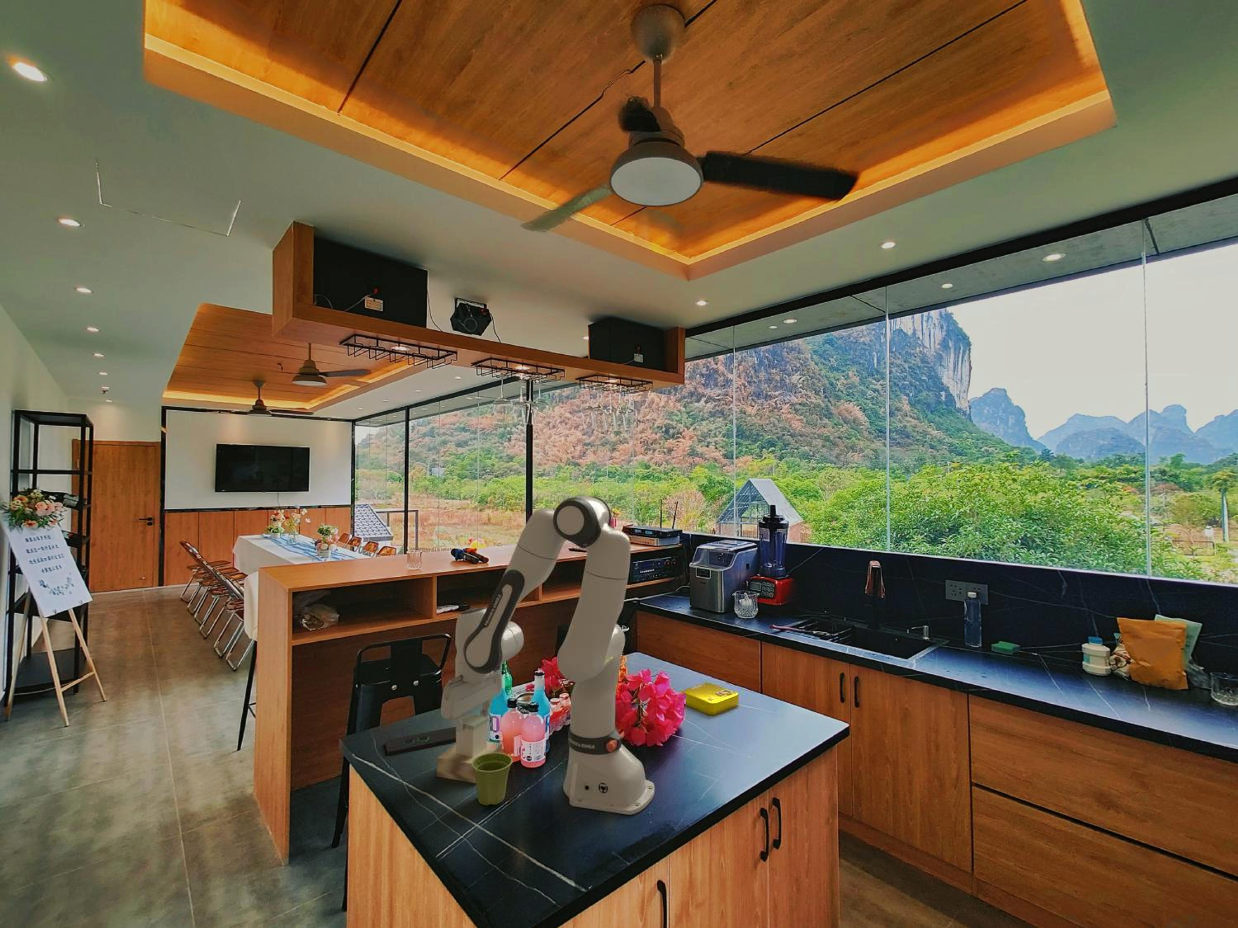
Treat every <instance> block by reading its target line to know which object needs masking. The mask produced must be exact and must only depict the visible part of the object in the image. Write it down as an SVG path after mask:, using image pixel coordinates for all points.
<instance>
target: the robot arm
mask: <svg viewBox="0 0 1238 928" xmlns="http://www.w3.org/2000/svg"><path fill="white" fill-rule="evenodd" d="M531 514H532V515H531V516H530V517H529V519H528V521H526V523H525V524H526V525H524V528H523V530H522V533H521V534H520V536H519V538H518V541H517V544H516V546H515V549H514V551H513V554H512V556H511V559H510V561H509V563H508V565H507V568H506V569H505V571H504V574H503V576H502V578H501V579H500V581H499V583H498V584H497V587H496V589H495V590H494V592H493V594H492V596H491V599H490V601H489V603H488V606H487V607H483V606H482V607H473V608H470V609H469V608H468V609H466V610H464V611H462V612H460V613H459V615H458V616H457V619H456V625H455V639H454V640H455V642H454V643H455V649H456V656H455V659H454V660H455V677H454V678H451V679H449V680H448V681H447V683H446V684H445V686H444V687H443V692H442V696H441V705H440V715H441V716H442V718H443V719H447V720H452V721H453V722H454V725H455V724H456V726H455V727H456V731H458V732H461V731H463V730H465V723H462V721H461V718H463V715H464V714H466V713H468V712H469V711H471V710H473V709H475V708H477V707H479V706H481V705H482V707H481V708H482V709H481V710H480V711H479V713H480V714H479V715H480V716H484V717H489V715H490V712H489V711H490V708H491V705H492V702H493V701H492V699H494V698H495V697H498V696H499V695H500V694H501V692H502V690H503V689H502V687H503V675H502V668H503V664H504V663H505V662H507V661H509V660H510V659H511V658H513V657H515V656H516V655H517V654H518V653H520V652H521V651H522V649H523V647H524V644H525V637H524V636H525V635H524V633H523V629H522V628H521V626H519V624H517V623H516V621H515V622H514V621H512V620H511V619H512V616H513V615H514V612H515V610H516V608H517V607H518V605H519V604H520V603H521V602H522V600H524V598H525V597H526V596H527V595H529V593H531V592H532V591H533V590H535V589H536V588H538V587H539V586H541V584H543V583H545V582H546V580H547V579H548V578H549V576H550V575H551V573H552V572H553V570H554V568H555V566H556V564H557V561H558V558H559V556H560V553H561V550H562V548H563V546H564V544H565V542H566V541H569V542H570V543H572V544H574V545H576V546H578V547H579V548H582V549H585V550H586V560H585V565H584V570H583V576H582V582H581V587H580V593H579V597H578V602H577V605H576V608H575V611H574V614H573V616H572V619H571V621H570V625H569V627H568V631H567V633H566V636H565V639H564V641H563V643H562V645H561V646H560V648H559V650H558V652H557V657H556V662H557V663H556V664H557V667H558V670H559V671H560V673H561V674H562V676H563V677H564V678H565V679H566V680H569V681H571V682H575V684H574V686H573V689H572V692H571V694H570V714H569V715H570V716H569V717H570V718H569V719H570V722H569V723H570V726H569V727H568V735H567V736H568V739H567V741H568V742H567V743H568V744H567V745H568V749H569V753H568V763H567V768H566V774H565V778H564V782H563V786H562V790H563V792H564V794H565V795H566V797H568V799H569V805H571V806H572V807H577V808H582V809H583V808H584V809H590V810H596V811H603V812H610V813H616V814H621V815H630V816H631V815H635V814H637V813H639V812H641V811H642V810H644V809H645V808H646V807H647V806H648V805H649V804H650V803H651V801H652V800H653V798H654V796H655V793H656V788H655V784H654V783H653V781H650V780H649V779H646V773H645V769H644V765H643V763H642V762H641V760H639V759H638V758H637V757H636V756H635V755H634V754H633V753H632V752H631V751H629V750H628V749H627V748H626V747H625V745H624V744H622V740H623V738H624V737H625V731H622V732H621V733H619V731H618V729H617V727H616V725H615V724H616V693H617V685H618V681H619V680H618V679H619V674H620V669H621V661H622V654H623V651H624V647H625V644H626V643H625V642H626V635H625V633H624V631H623V629H622V628H621V626H620V625H619V624H618V623H617V622H618V619H619V617H620V614H621V613H622V611H623V608H624V603H625V598H626V591H627V585H628V581H629V580H628V579H629V575H630V574H629V573H630V567H631V566H630V564H631V540H630V538H629V536H628V535H627V534H626V533H625V532H623V531H622V530H620V529H617V528H613V527H611V526H610V525H611V522H612V511H611V508H610V507H609V505H608V503H606V502H605V500H603V499H602V498H600V497H597V496H589V495H577V496H573V497H568V498H566V499H564V500H562V501H561V502H560V504H559V505H558V506H556V508H555V509H553V508H548V507H544V508H542V507H541V508H539V509H536V510H535V511H534V512H533V513H531Z"/></svg>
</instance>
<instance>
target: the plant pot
mask: <svg viewBox="0 0 1238 928" xmlns="http://www.w3.org/2000/svg"><path fill="white" fill-rule="evenodd" d="M512 764H513V758H512V757H511V756H510V755H509V754H507V753H503V752H502V753H487V754H483V755H480V756H478V757H476V758H475V759H474V760H473V761H472V768H473V769H474V773H475V777H476V783H475V784H476V793H477V800H478V802H479V803H480V804H481V805H482V806H489V805H494V806H495V805H498V804H501V802H503V801H504V799H505V797H506V789H507V782H508V778H509V777H508V776H509V771H510V769H511V765H512Z"/></svg>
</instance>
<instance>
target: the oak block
mask: <svg viewBox="0 0 1238 928" xmlns="http://www.w3.org/2000/svg"><path fill="white" fill-rule="evenodd" d="M501 747H502V749H501ZM487 753H503V743H499V742H494V741H488V740H487V749H485V750H484V751H482V752H481V753H479V754H477V755H476V756H474V757H469V756H465V755H461V754H458V753H456V743H455V744H453V745H452V746H451V747H449V748H448V749H447V750H445V751H444V752H443V753H442V754H440V755H439V756H438V757H437V759H436V761H437V762H436V763H437V764H436V777H439V778H444V779H451V780H456V781H461V782H465V783H467V782H468V783H473V784H476V777H475V773H474V769H473V768H472V761H473V760H474V759H475V758H476V757H478V756H480V755H483V754H487Z"/></svg>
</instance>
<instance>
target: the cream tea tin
mask: <svg viewBox="0 0 1238 928" xmlns="http://www.w3.org/2000/svg"><path fill="white" fill-rule="evenodd" d="M461 721H462V723H465V730H463V731H461V732H458V731H456V742H455V744H456V753H458V754H461V755H465V756H469V757H474V756H476V755H477V754H479V753H481V752H482V751H484V750H485V749H487V741H488V722H489V716H487V717H484V716H480V714H476V713H475V714H474V713H469V714H467V715H465V716H464V717H463V716H462V718H461ZM454 727H456V724H455V723H454Z"/></svg>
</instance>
